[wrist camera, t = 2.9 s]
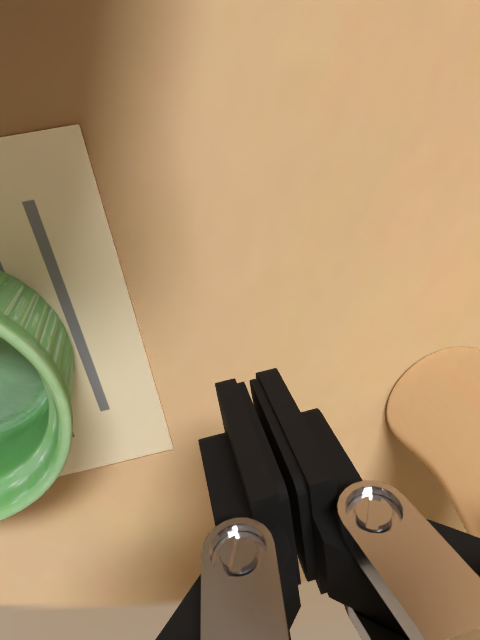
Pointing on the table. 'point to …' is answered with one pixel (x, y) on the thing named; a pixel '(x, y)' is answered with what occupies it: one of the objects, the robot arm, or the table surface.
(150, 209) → the table surface
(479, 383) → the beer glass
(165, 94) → the table surface
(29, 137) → the letter
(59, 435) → the ramekin
